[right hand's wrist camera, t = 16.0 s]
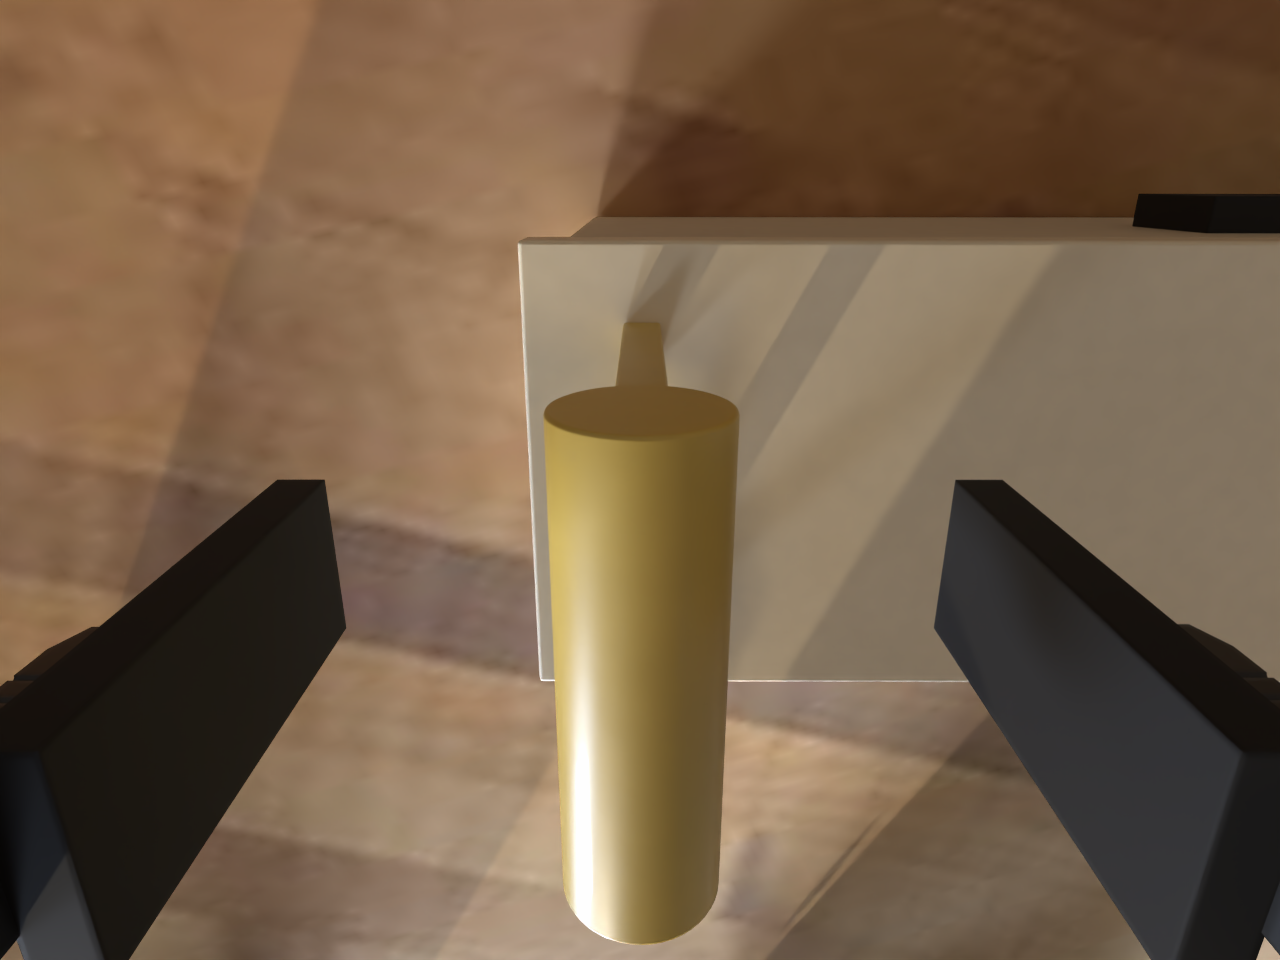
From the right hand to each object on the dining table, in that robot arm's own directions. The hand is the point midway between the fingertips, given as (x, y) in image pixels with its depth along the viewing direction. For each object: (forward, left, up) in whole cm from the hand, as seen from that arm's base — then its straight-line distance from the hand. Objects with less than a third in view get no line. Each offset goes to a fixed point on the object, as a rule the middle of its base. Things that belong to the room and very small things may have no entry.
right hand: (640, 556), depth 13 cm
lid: (+4, -6, -4) cm, 8 cm away
